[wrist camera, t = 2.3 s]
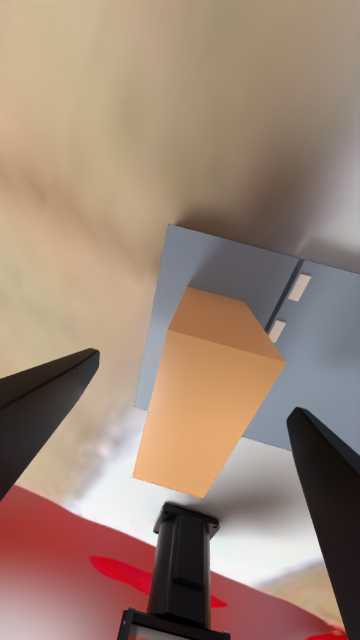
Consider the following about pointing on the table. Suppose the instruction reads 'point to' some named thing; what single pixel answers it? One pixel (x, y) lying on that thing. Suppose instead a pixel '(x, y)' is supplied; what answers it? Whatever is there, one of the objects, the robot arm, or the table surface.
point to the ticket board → (314, 355)
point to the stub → (206, 355)
